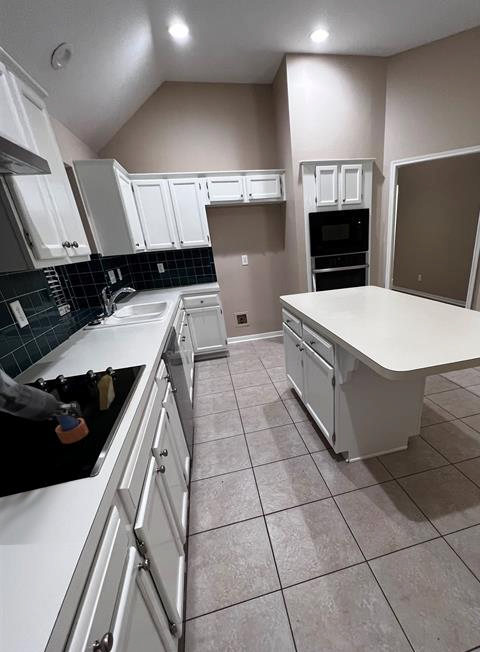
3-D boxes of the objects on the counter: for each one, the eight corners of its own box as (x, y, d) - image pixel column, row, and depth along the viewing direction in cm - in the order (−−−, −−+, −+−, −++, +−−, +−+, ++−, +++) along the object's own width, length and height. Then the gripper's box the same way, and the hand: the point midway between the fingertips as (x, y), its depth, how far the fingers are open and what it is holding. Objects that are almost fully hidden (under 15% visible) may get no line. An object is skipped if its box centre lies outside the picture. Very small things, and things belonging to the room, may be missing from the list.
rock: (109, 406, 106) (127, 388, 114) (87, 389, 103) (107, 372, 111) (97, 419, 111) (114, 401, 119) (75, 404, 109) (95, 386, 117)
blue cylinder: (62, 432, 95) (51, 410, 91) (77, 425, 98) (67, 403, 95) (68, 437, 92) (57, 414, 89) (83, 429, 95) (73, 407, 92)
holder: (56, 438, 95) (51, 428, 94) (82, 425, 101) (77, 415, 99) (66, 446, 91) (61, 435, 90) (92, 433, 97) (88, 422, 95)
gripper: (60, 384, 81) (95, 400, 97) (1, 393, 80) (46, 408, 96) (58, 412, 79) (95, 424, 95) (-3, 422, 77) (44, 432, 93)
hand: (70, 416), depth 95 cm, fingers closed on blue cylinder, 4 cm apart
